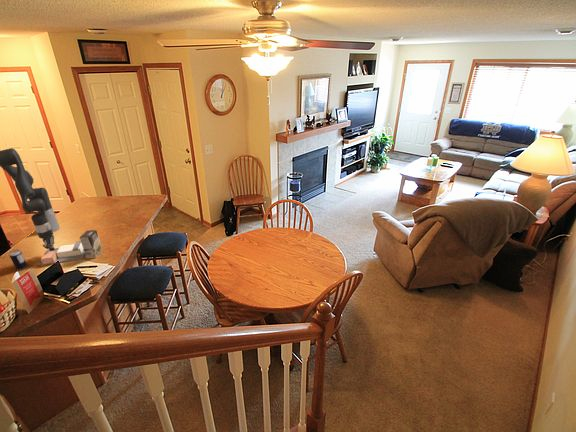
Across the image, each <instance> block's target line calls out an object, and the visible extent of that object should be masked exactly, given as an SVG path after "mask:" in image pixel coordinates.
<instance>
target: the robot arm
mask: <svg viewBox="0 0 576 432" xmlns="http://www.w3.org/2000/svg"><path fill="white" fill-rule="evenodd" d="M14 165H16V166H14ZM0 168H1V169H3V170H4V171H5V172H6V173H7V174H8V176H10V178H11V179H12V180H13V182H14V185H15V189H16V190H17V192H18V194H19V196H20V198H21V205H22V209H23V211H24V212H25V213H28V214H31V213H32V215H31V221H32V222H33V223H32V224H33V226H34V229H35V232H36V234H37V237H38V238H40V239H42V242H43V243H44V244H42V247H43V248H45V250H48V249H49V250H50V251H55V249H54V248H55V236H54V232H56V231H58V230H59V229H60V225H59V222H58V219H57V217H56V214H55V211H54V209H53V207H52V206H53V205H52V203H51V201H50V198H49V194H48V191H47V190H46V188H45V187H35V188H33V184H34V178H33V176H32V175H31V173H30V172H29V171H27V170H26V169H25V166H24V163H23V161H22V158H21V156H20V154H19V153H18V152H17V150H16V149H14V148H7V149H3V150H0ZM35 212H36V213H35Z"/></svg>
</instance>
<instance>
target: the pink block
mask: <svg viewBox="0 0 576 432" xmlns="http://www.w3.org/2000/svg"><path fill="white" fill-rule="evenodd" d="M56 252H57V251H56V250H55V251H48V252H47V251H44V254H43V255H42V257H41V259H40V261H41V260H42V262H43V264H48V263H54V262H55V261H56V259H57V257H58V256H57V253H56Z"/></svg>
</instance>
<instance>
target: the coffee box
mask: <svg viewBox="0 0 576 432" xmlns="http://www.w3.org/2000/svg"><path fill="white" fill-rule="evenodd" d="M79 241H81V243H82V246H83V249H84V252H85V257H86V259H96V258H97V257H98V256H99V255H100V254H101V253H102V252H103V247H102V244H101V240H100V237H99V234H98V231H97V230H96V229H91V230H90V229H89V230H86V231H85V232H83V234H82V235H80V237H79Z"/></svg>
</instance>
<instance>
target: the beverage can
mask: <svg viewBox="0 0 576 432" xmlns="http://www.w3.org/2000/svg"><path fill="white" fill-rule="evenodd" d="M8 254H9V255H8V256H9V258H10V260H11V261H12V264H13V266H14V268H15V270H19V271H21V270H25V269H26V268H27V267H28V263H27V261H26V259H25V256H24V255H23V254H24V253H22V251H21V250H20V249H13V250H10V252H9V253H8Z"/></svg>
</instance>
